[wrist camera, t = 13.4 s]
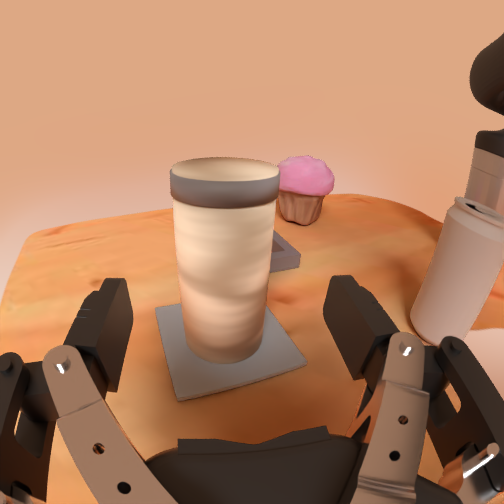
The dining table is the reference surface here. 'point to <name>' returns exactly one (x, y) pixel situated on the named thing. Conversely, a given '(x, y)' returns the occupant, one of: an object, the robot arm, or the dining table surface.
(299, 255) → the socket collar
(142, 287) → the dining table surface
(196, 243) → the beige tall cylinder
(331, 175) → the cupcake
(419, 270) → the dining table surface
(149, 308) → the dining table surface
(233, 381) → the mat
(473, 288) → the beverage can
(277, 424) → the dining table surface
